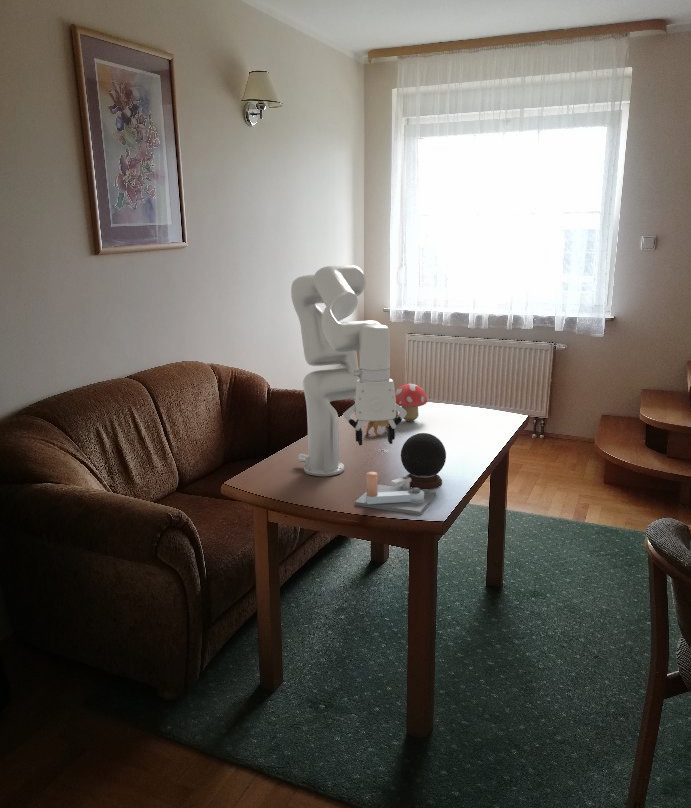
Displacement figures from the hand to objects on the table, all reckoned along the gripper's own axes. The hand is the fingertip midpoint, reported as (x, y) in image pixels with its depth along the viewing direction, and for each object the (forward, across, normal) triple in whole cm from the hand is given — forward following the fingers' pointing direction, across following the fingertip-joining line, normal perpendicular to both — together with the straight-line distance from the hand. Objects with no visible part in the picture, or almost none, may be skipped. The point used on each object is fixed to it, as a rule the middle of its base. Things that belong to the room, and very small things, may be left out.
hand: (375, 442), depth 172 cm
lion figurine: (+20, +14, +74) cm, 78 cm away
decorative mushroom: (+20, +27, +88) cm, 94 cm away
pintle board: (+20, +7, +9) cm, 23 cm away
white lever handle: (+18, +6, +6) cm, 20 cm away
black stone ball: (+20, +17, +22) cm, 34 cm away
